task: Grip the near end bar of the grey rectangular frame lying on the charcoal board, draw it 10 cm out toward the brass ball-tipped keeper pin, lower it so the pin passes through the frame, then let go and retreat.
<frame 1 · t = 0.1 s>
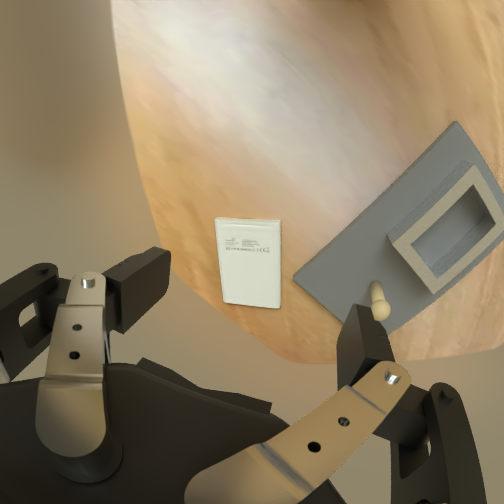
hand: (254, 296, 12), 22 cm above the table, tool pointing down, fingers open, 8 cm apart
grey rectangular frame: (447, 224, 27), point 1 cm above the table, touching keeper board
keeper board: (415, 246, 31), on the table
external hard drive: (251, 260, 38), on the table
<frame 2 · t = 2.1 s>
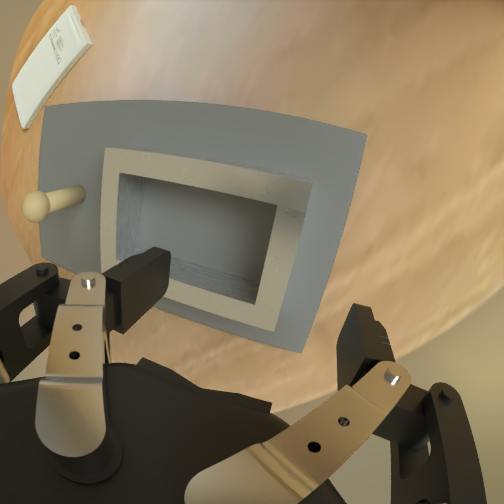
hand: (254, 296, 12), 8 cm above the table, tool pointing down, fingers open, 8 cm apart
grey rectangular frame: (202, 223, 19), point 1 cm above the table, touching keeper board
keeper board: (150, 205, 21), on the table
external hard drive: (52, 66, 19), on the table
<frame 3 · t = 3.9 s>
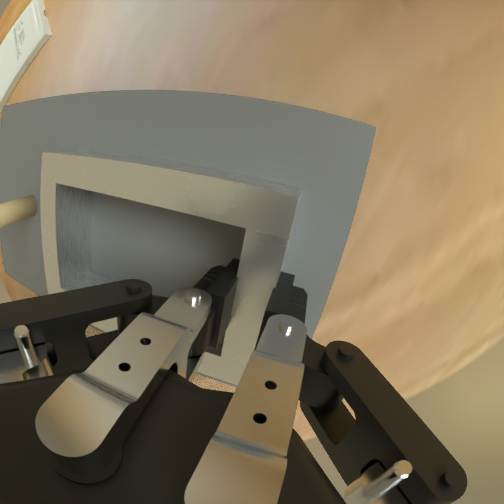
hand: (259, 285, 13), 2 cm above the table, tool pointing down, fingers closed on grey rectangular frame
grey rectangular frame: (158, 245, 14), point 1 cm above the table, touching gripper, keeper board
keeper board: (103, 220, 16), on the table
external hard drive: (16, 62, 15), on the table
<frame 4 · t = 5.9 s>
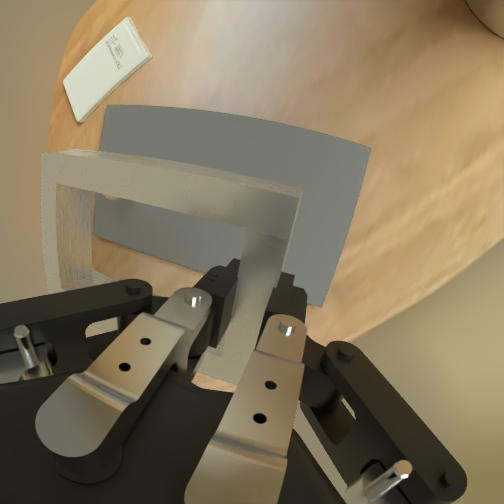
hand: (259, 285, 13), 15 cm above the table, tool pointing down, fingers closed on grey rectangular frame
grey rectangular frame: (158, 246, 14), point 14 cm above the table, touching gripper
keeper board: (207, 192, 28), on the table
external hard drive: (107, 70, 26), on the table
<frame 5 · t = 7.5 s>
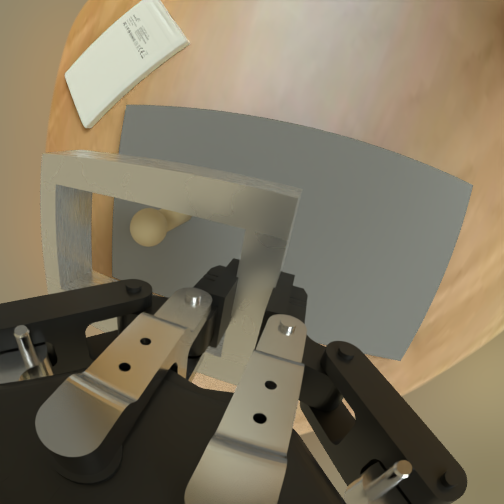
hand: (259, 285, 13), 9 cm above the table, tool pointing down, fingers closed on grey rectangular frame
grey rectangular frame: (158, 246, 14), point 8 cm above the table, touching gripper
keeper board: (273, 230, 22), on the table
external hard drive: (124, 59, 20), on the table
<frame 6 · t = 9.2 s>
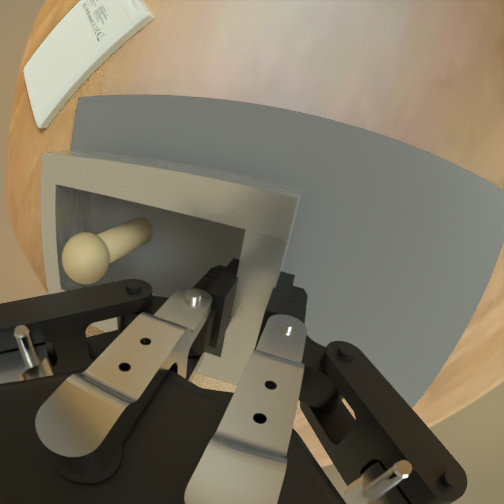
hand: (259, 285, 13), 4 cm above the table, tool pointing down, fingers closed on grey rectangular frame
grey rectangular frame: (158, 246, 14), point 3 cm above the table, touching gripper
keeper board: (258, 254, 16), on the table
external hard drive: (84, 46, 15), on the table
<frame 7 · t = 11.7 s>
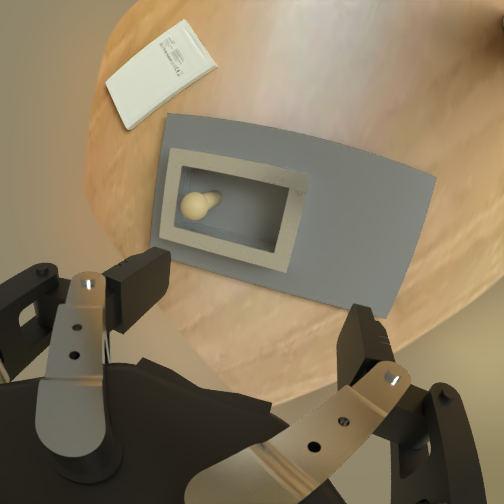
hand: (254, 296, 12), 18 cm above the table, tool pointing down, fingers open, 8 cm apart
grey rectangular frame: (236, 202, 28), point 1 cm above the table, touching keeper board
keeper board: (283, 212, 28), on the table
external hard drive: (160, 74, 27), on the table
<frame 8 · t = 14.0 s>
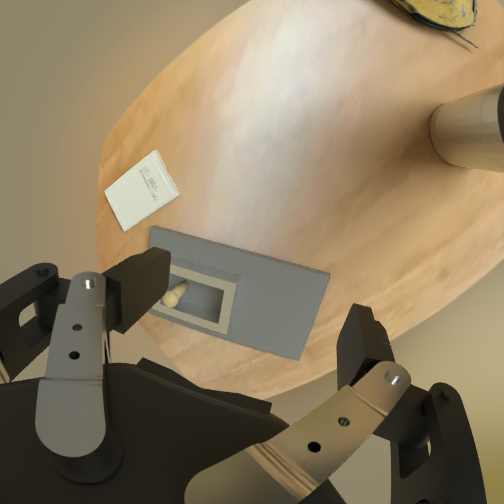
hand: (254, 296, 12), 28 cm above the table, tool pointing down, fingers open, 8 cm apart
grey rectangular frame: (197, 289, 44), point 1 cm above the table, touching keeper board
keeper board: (227, 294, 45), on the table
external hard drive: (143, 191, 43), on the table
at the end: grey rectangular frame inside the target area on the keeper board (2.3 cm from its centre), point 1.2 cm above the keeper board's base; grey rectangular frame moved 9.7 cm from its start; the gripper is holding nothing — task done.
